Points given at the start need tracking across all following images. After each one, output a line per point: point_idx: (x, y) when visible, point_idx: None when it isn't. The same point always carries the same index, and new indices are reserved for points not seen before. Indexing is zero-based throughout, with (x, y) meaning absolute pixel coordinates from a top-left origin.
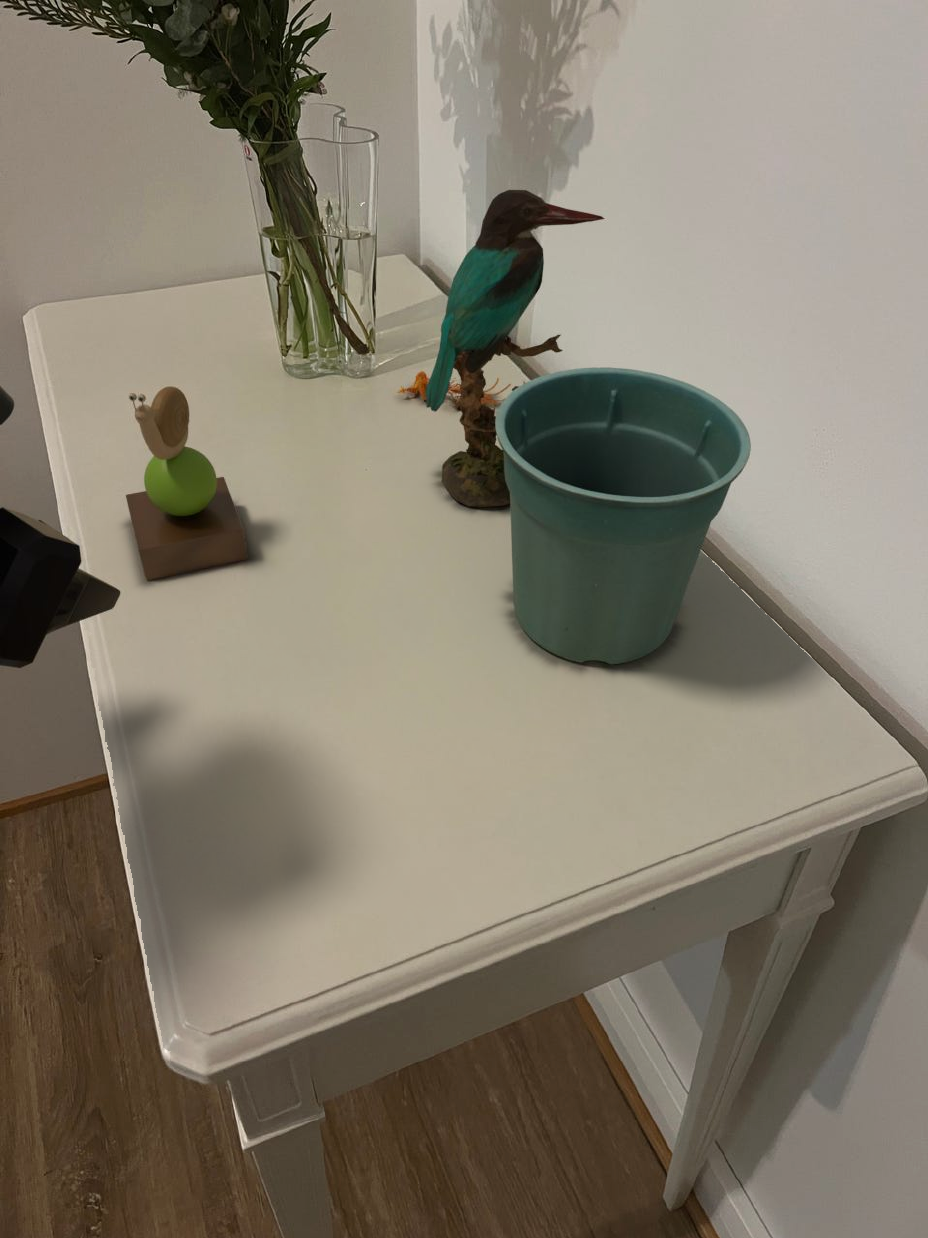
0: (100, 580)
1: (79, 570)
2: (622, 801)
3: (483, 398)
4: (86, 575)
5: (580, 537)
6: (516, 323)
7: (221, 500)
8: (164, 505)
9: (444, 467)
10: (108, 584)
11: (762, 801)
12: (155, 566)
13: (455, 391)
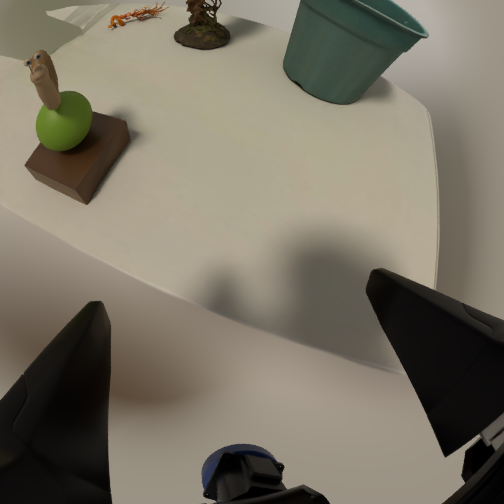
0: (423, 287)
1: (484, 314)
2: (414, 160)
3: (153, 12)
4: (470, 307)
5: (396, 50)
6: None
7: None
8: (68, 144)
9: (177, 38)
10: (403, 278)
11: (426, 137)
12: (88, 190)
13: (139, 14)
